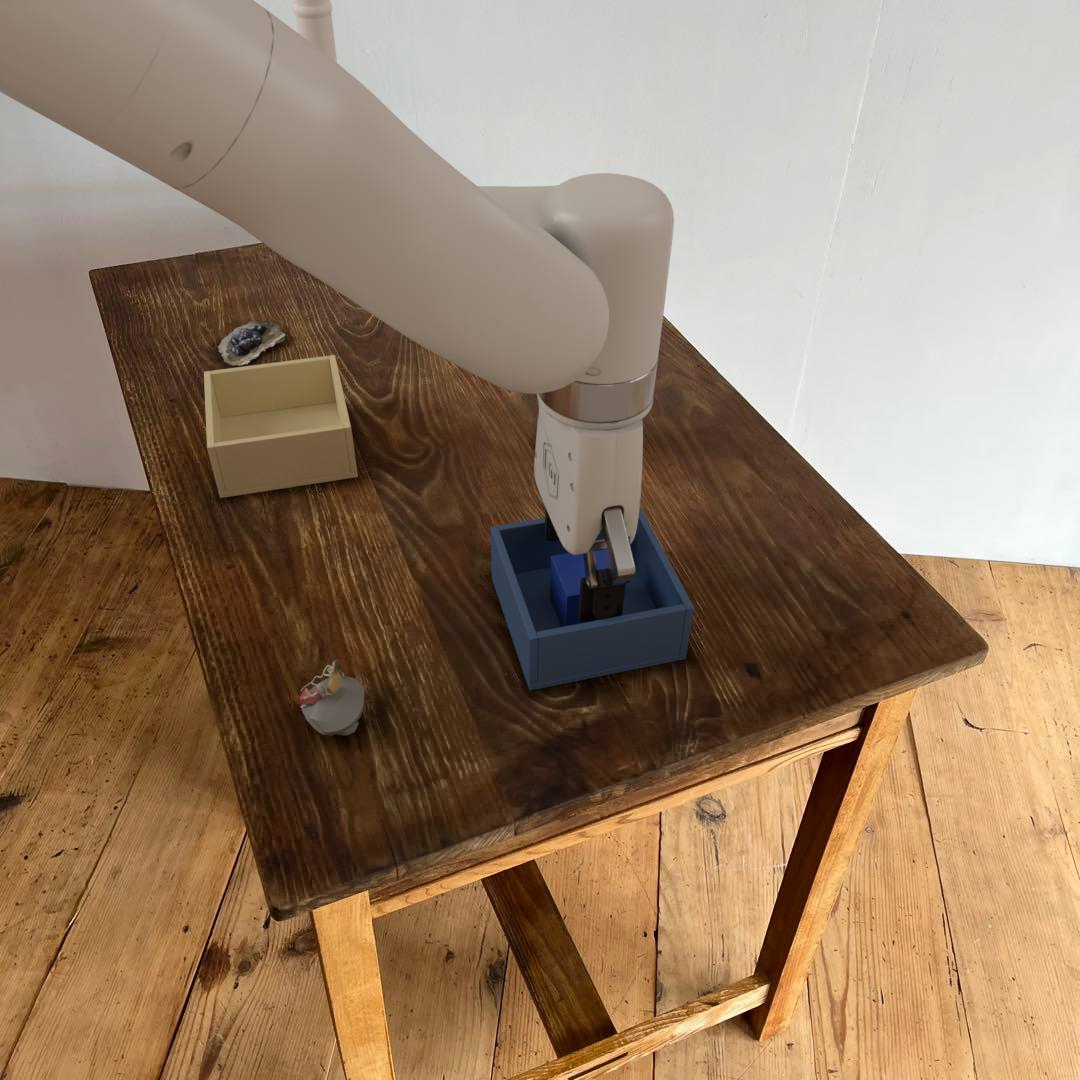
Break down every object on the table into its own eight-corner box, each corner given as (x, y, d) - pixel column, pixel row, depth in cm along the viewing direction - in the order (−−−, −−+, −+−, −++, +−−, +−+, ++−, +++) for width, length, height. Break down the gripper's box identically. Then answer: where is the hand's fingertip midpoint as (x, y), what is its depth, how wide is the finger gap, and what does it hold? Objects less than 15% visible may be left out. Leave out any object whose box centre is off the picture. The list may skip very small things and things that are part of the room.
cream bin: (220, 498, 90) (206, 447, 86) (215, 420, 98) (203, 371, 95) (358, 477, 92) (351, 427, 88) (341, 403, 101) (335, 354, 97)
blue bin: (529, 691, 74) (529, 639, 70) (491, 578, 83) (490, 526, 79) (685, 659, 76) (694, 607, 73) (633, 552, 85) (638, 501, 81)
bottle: (327, 288, 118) (287, 6, 98) (302, 260, 123) (258, -13, 103) (389, 271, 121) (363, -5, 101) (362, 245, 126) (332, -23, 106)
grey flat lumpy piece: (296, 332, 111) (293, 317, 109) (263, 371, 105) (260, 355, 104) (239, 324, 112) (236, 308, 111) (204, 361, 106) (200, 346, 105)
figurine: (366, 746, 70) (356, 690, 66) (301, 750, 70) (288, 694, 66) (368, 687, 74) (360, 631, 70) (307, 690, 74) (295, 635, 70)
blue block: (565, 638, 77) (567, 596, 74) (549, 597, 80) (550, 555, 77) (621, 627, 78) (625, 585, 75) (603, 587, 81) (606, 545, 78)
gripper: (506, 317, 70) (505, 510, 82) (579, 467, 58) (566, 669, 69) (609, 306, 72) (594, 496, 83) (702, 449, 59) (669, 649, 71)
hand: (581, 574), depth 76 cm, fingers open, 8 cm apart
